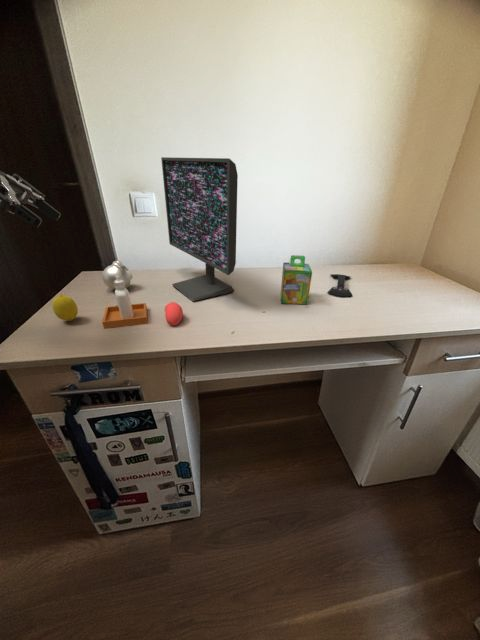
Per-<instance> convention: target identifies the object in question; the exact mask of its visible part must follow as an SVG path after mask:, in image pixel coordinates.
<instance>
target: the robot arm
mask: <svg viewBox="0 0 480 640" xmlns="http://www.w3.org/2000/svg"><path fill="white" fill-rule="evenodd" d="M45 198H46V195H45V194H44V193H43V192H41V191H40V190H39V189H37V188H36V187H35V186H33V185H32V184H31V183H30V182H28V181H27V180H26V179H24V178H23V177H21V176H20V175H19V174H17V173H13V174H12V176H11V175H10V174H6V172H4V171H2V170H1V169H0V212H1V213H6V212H8V213H10V214H12V215H16V216H17V217H18V218H20V219H21V220H22V221H24V222H26V223H27V224H28V225H30V226H31V227H32V228H34V229H37V228H39V227H40V225H41V224H42V223H43V218H41V217H40V216H39V215H38V214H36V213H35V212H33V211H32V210H31V209H29V208H28V207H27V206H25V205H26V204H28V205H30V206H32V207H34V208H36V209H37V211H39V212H40V213H42V214H43V215H45V217H48V219H50V220H51V221H53V222H57V221H59V219H60V217H61V215H62V214H61V212H59V211H58V210H57V209H56V208H55V207H54V206H52V205H50V204H49V203H48V202H46V201H45Z"/></svg>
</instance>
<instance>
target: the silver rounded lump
mask: <svg viewBox="0 0 480 640" xmlns="http://www.w3.org/2000/svg"><path fill="white" fill-rule="evenodd" d="M111 263H112V264H110V265H108V266H106V267H105V268H104V270H103V271H102V274H101V276H102V281H103V283H104V285H105V286H107V288H108V289H109V290H113V291H115V290H116V288H115V284H114V281H116V276H119V277H120V279H121V280H123V281H124V284H125V288H126V289H128V287H129V286H130V285H131V281H132V279H133V273H132V272H130V271H129V267H128V266H126V264H125V263H124V262H123V261H121V260H118V259H117V260H114V261H112V262H111Z"/></svg>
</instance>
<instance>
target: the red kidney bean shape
mask: <svg viewBox="0 0 480 640" xmlns="http://www.w3.org/2000/svg"><path fill="white" fill-rule="evenodd" d="M183 315H184V312H183V308H182V306H181V305H180V304H179V303H178V302H174V301H173V302H168V303H166V305H165V307H164V317H165V321H166V322H167V324H168V325H170V326H176V325H178V324H179V323H180V322H181V321H182V320H183Z"/></svg>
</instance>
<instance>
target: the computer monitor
mask: <svg viewBox="0 0 480 640" xmlns="http://www.w3.org/2000/svg"><path fill="white" fill-rule="evenodd" d="M160 159H161V171H162V181H163V190H164V201H165V202H164V203H165V212H166V220H167V221H166V223H167V231H168V241H169V245H170V246H172V247H174V248H175V249H178V250H179V251H182V252H184V253H185V254H188V255H189V256H191V257H193V258H195V259H196V260H199V261H201V262H203V263H205V274H203V275H199V276H197V277H192V278H189V279H185V280H180V281H178V282H174V283H172V284H171V285H172V287H174V288H175V289H177V290H178V291H179V292H180V293H182V294H183V295H185V296H186V297H187V298H188V299H189V300H191V301H192V302H199V301H202V300H206V299H212V298H214V297H218V296H223V295H226V294H231V293H234V291H235V289H234V288H233V286H232V285H230V284H228V283H226V282H225V281H223V280H222V279H220V278H218V277H217V276H216V270H217V271H219V272H221V273H223V274H225V275H227V276H230V275H231V274H232V273H234V271H235V268H236V264H237V227H238V225H237V222H238V221H237V219H238V178H239V177H238V176H239V175H238V169H237V165H236V163H235V162H234V161H233V160H232V159H231V158H226V157H225V158H224V157H222V158H221V157H220V158H218V157H167V156H166V157H162V156H161V157H160ZM215 269H216V270H215ZM235 292H236V291H235Z"/></svg>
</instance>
